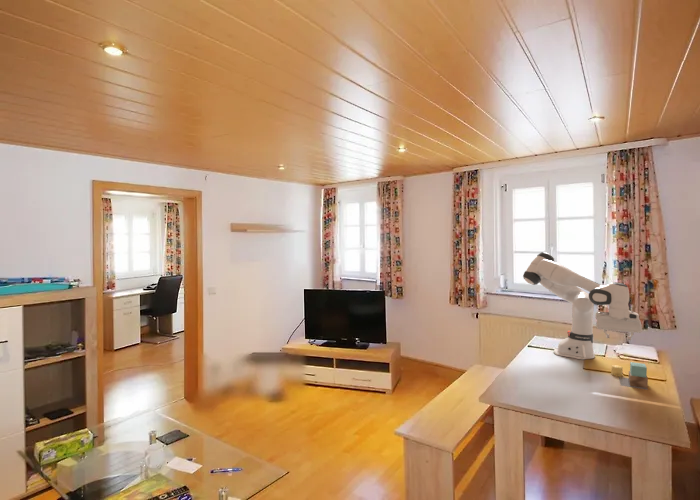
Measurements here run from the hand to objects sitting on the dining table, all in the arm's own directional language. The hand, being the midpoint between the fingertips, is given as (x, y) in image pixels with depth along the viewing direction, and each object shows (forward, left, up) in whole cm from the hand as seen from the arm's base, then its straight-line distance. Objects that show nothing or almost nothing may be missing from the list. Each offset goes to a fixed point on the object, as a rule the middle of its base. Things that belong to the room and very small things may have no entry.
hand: (618, 338), depth 211 cm
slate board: (+6, -11, -20) cm, 23 cm away
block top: (+8, -12, -14) cm, 20 cm away
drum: (0, -1, -20) cm, 20 cm away
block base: (+8, -12, -19) cm, 24 cm away
